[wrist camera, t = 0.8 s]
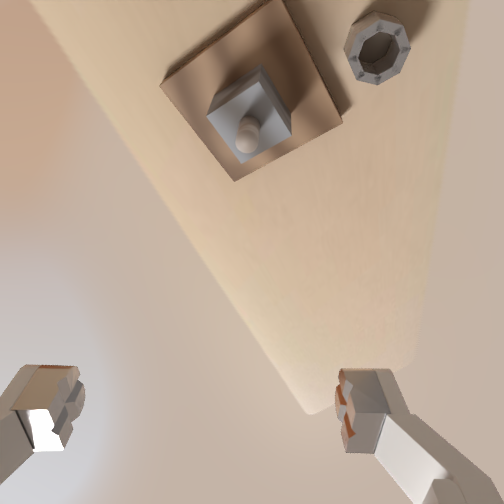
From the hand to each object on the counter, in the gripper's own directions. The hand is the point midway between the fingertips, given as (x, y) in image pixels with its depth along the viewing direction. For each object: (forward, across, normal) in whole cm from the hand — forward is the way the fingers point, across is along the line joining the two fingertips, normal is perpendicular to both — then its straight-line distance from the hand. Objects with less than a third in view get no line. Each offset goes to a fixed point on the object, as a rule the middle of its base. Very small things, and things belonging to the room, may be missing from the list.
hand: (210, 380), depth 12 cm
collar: (+40, -15, -9) cm, 44 cm away
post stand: (+43, -2, -3) cm, 43 cm away
